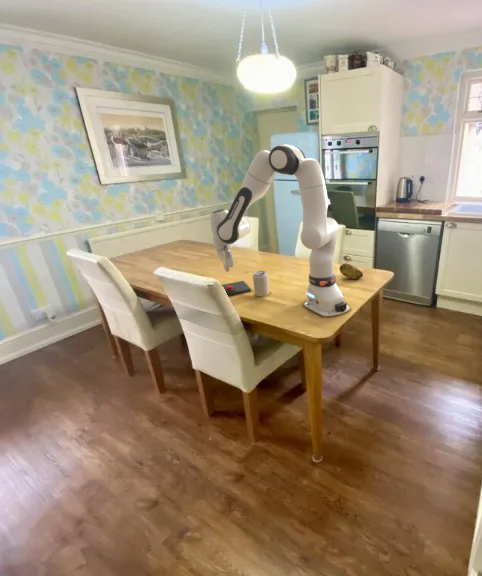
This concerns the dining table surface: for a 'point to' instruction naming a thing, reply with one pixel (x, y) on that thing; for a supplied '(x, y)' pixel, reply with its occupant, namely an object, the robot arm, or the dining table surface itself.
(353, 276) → the potato
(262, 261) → the dining table surface
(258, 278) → the can
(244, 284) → the scale
